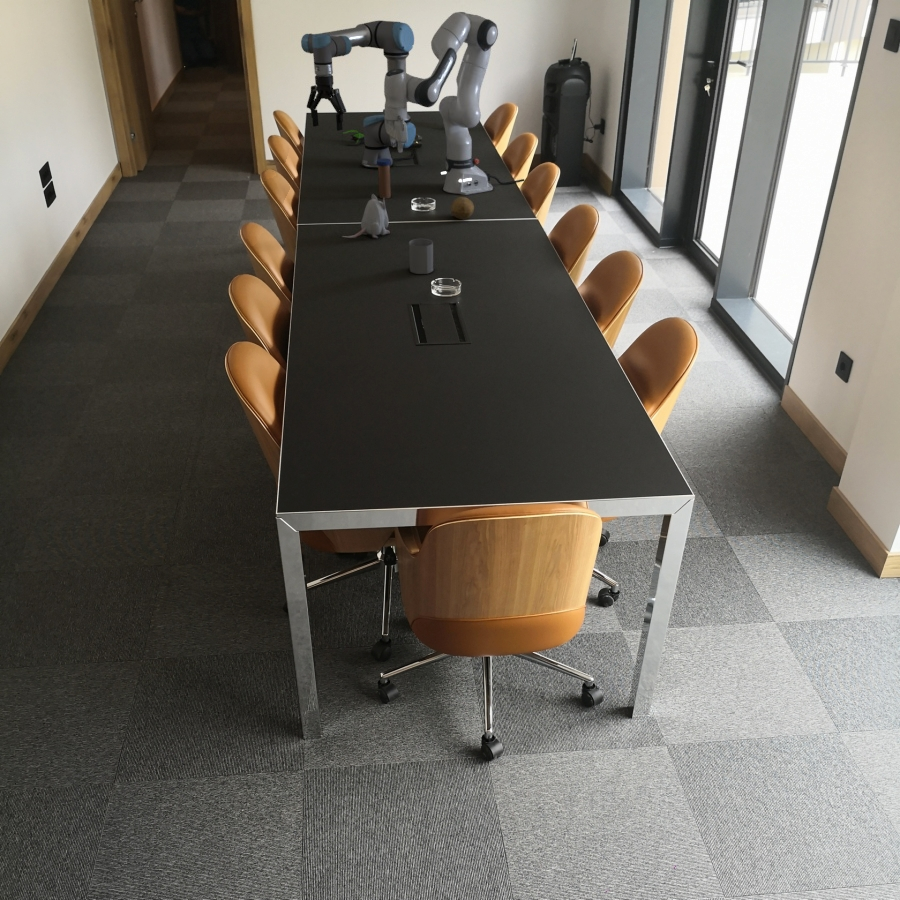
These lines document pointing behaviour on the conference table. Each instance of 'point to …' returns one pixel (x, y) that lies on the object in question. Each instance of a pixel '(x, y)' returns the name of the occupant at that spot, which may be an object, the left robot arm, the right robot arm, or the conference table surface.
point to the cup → (421, 256)
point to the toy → (374, 219)
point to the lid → (383, 162)
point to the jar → (384, 181)
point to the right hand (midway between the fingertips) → (396, 149)
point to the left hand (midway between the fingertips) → (327, 128)
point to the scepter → (355, 137)
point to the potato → (462, 208)
